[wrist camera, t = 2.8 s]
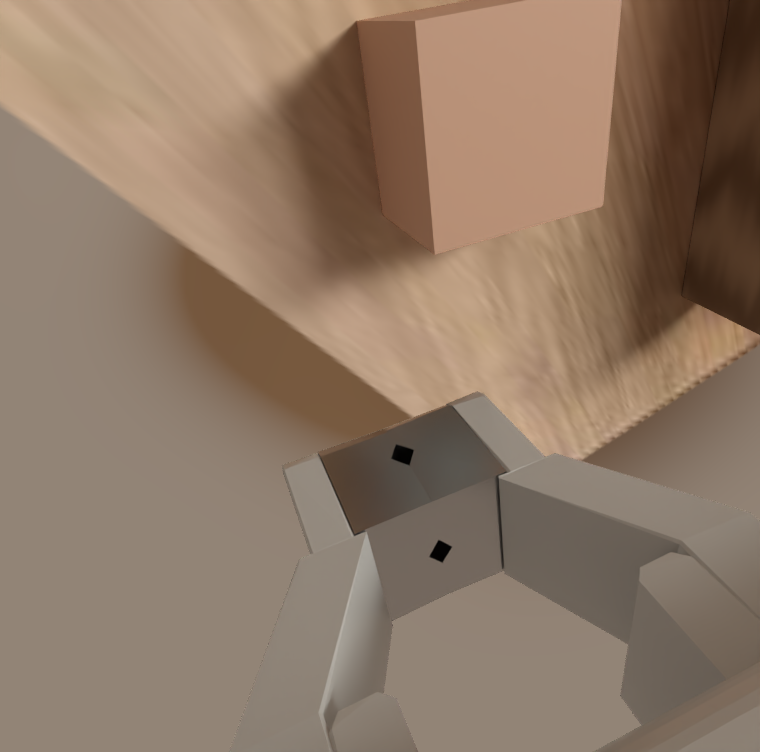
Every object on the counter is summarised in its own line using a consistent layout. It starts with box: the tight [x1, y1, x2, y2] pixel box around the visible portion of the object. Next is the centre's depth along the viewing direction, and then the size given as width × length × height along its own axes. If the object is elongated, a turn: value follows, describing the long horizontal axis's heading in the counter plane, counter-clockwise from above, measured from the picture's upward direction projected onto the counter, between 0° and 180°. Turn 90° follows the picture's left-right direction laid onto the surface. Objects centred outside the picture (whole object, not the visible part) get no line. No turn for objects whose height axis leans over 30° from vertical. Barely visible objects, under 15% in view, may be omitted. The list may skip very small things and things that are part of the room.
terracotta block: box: [356, 0, 622, 255], centre depth 24 cm, size 8×8×6 cm
